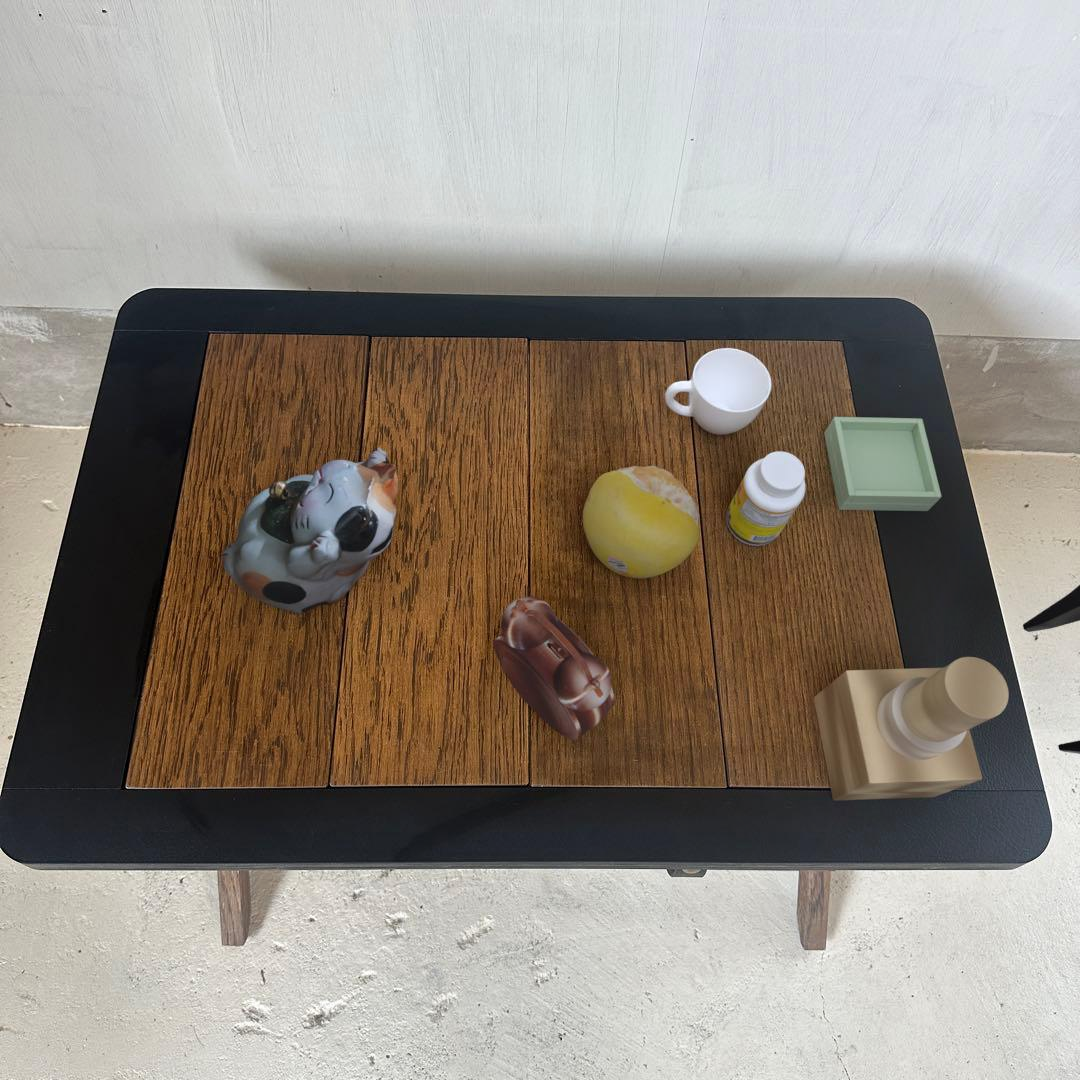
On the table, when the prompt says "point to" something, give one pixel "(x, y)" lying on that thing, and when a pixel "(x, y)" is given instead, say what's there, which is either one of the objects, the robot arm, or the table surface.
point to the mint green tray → (881, 464)
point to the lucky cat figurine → (314, 533)
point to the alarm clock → (553, 668)
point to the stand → (881, 743)
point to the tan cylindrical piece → (941, 707)
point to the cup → (723, 391)
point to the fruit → (640, 521)
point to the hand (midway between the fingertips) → (1042, 686)
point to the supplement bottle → (766, 498)
